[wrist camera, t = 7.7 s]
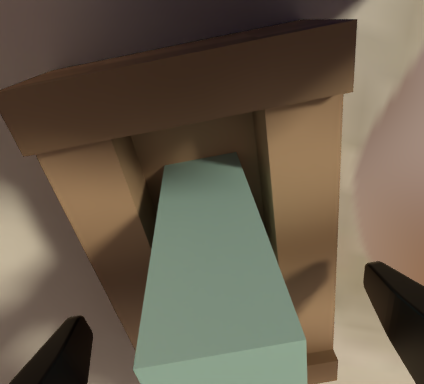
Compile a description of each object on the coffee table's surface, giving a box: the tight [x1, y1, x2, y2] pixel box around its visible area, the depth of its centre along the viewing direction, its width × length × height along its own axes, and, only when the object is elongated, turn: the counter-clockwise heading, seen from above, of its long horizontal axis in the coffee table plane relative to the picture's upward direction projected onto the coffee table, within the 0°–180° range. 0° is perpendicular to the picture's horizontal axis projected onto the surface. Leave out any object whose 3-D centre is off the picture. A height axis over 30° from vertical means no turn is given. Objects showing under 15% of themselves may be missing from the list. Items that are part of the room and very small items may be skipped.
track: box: [0, 19, 357, 384], centre depth 11 cm, size 14×8×4 cm, turn 10°
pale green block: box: [133, 152, 307, 384], centre depth 9 cm, size 7×3×7 cm, turn 10°
